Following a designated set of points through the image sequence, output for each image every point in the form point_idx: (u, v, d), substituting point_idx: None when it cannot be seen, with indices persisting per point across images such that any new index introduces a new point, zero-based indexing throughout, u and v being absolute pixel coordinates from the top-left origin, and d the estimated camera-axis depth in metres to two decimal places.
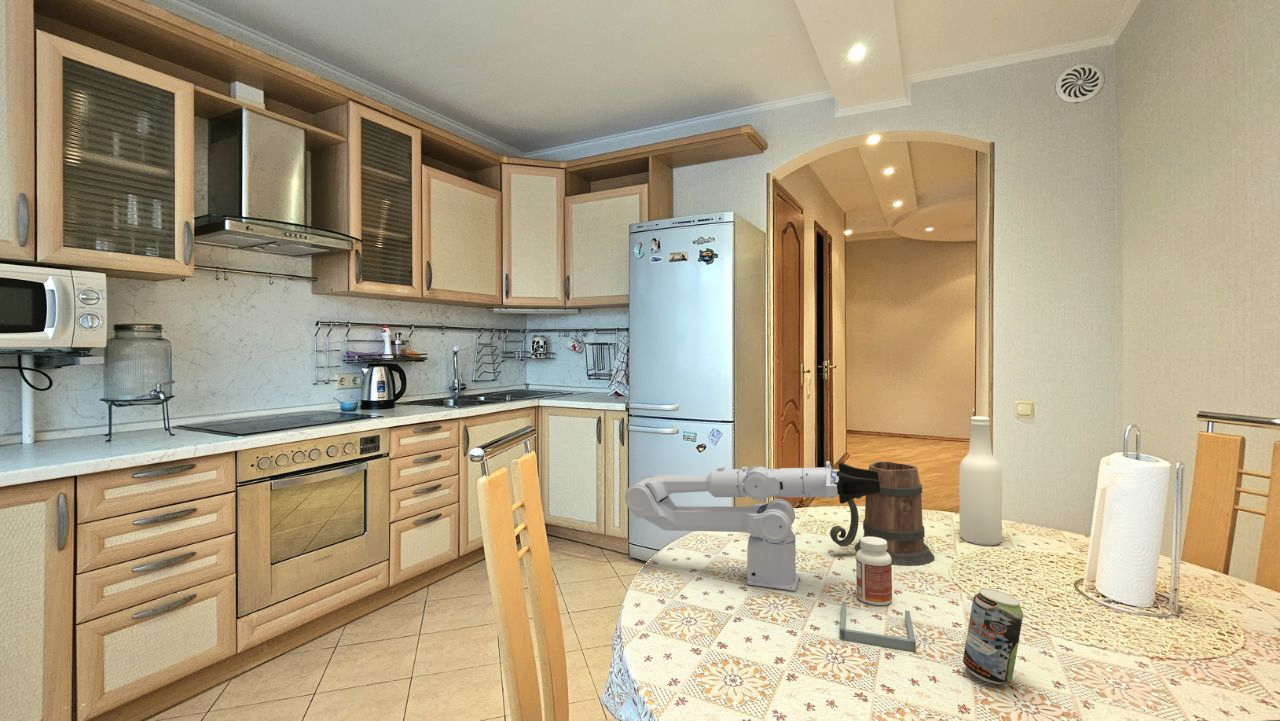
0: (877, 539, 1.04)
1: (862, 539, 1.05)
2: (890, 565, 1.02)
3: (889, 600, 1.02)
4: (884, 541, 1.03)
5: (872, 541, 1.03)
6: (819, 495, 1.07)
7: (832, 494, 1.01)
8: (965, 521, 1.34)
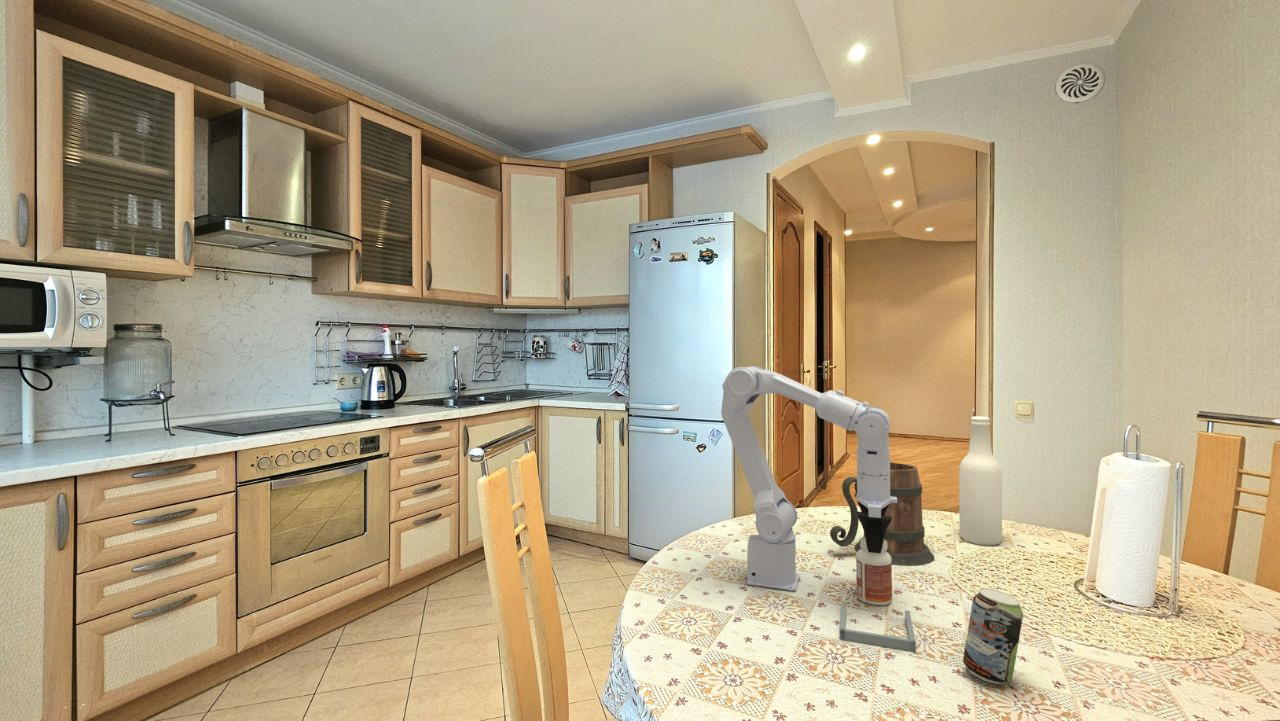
0: None
1: (862, 539, 1.05)
2: (890, 565, 1.02)
3: (889, 600, 1.02)
4: (884, 541, 1.03)
5: None
6: (861, 488, 1.03)
7: (870, 512, 0.97)
8: (965, 521, 1.34)
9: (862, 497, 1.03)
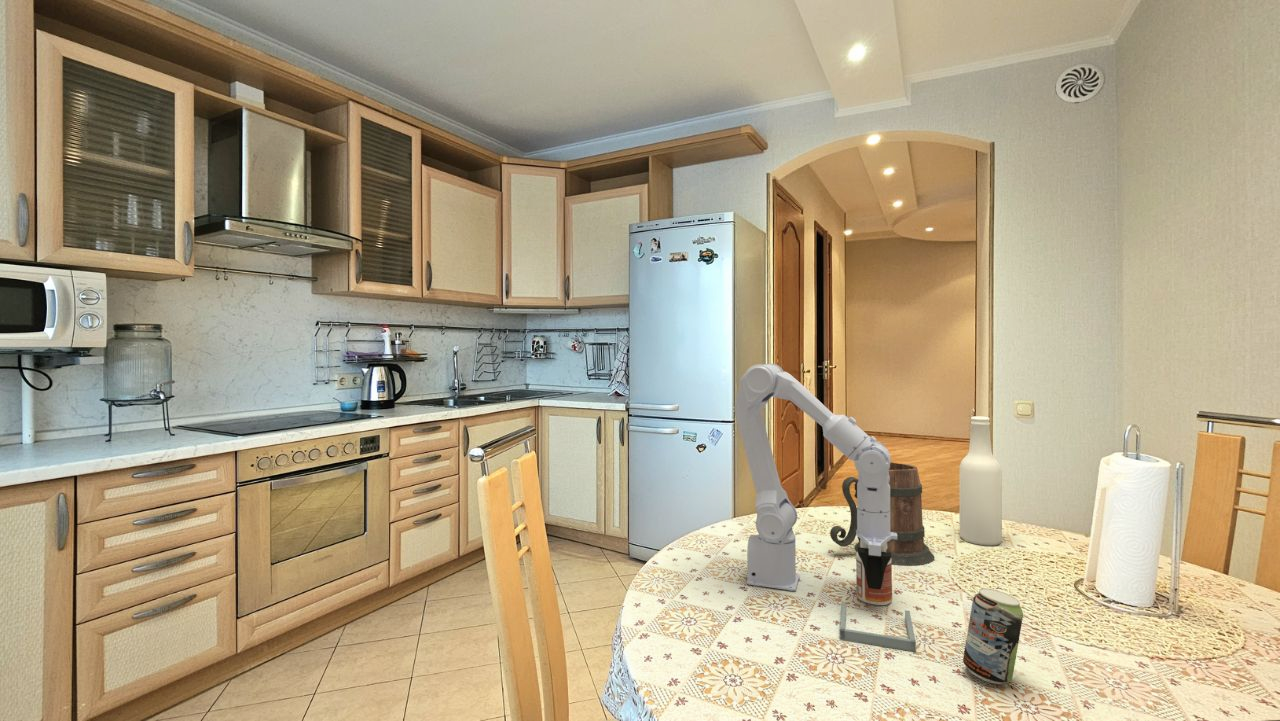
0: None
1: None
2: (890, 565, 1.02)
3: (889, 600, 1.02)
4: None
5: None
6: (861, 524, 1.03)
7: (870, 550, 0.97)
8: (965, 521, 1.34)
9: (862, 533, 1.03)
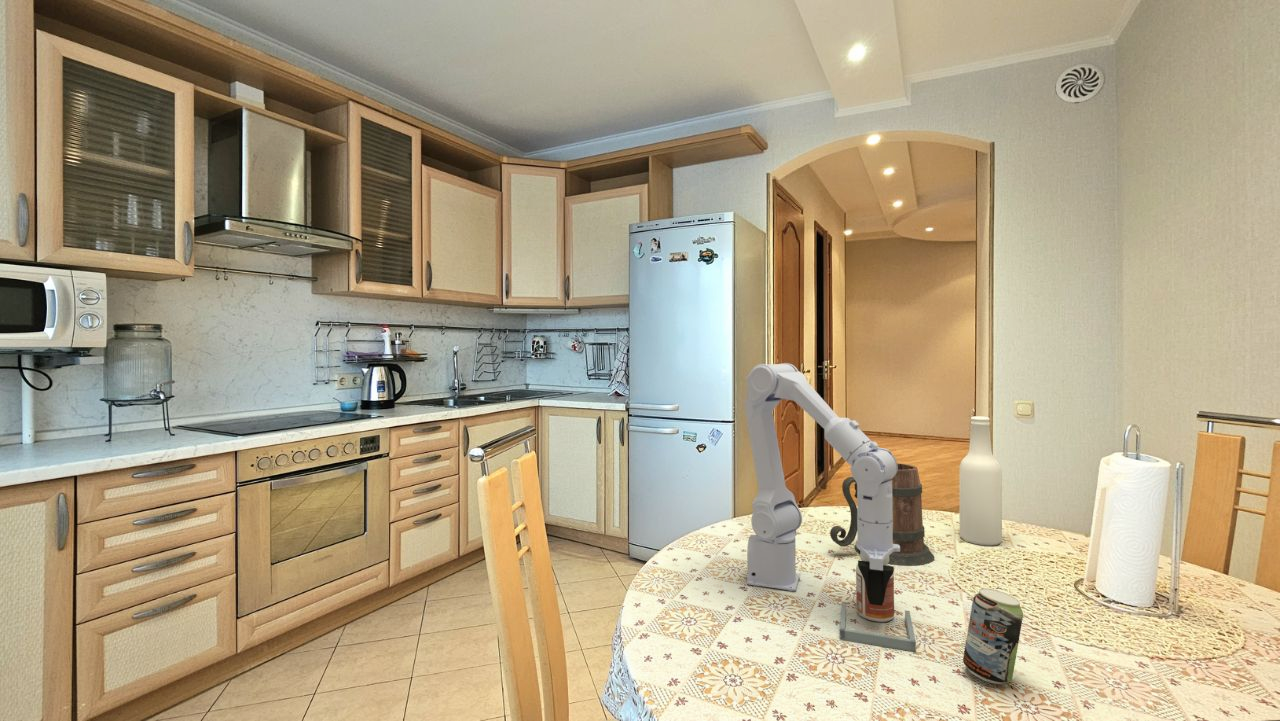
0: None
1: None
2: (892, 579, 0.96)
3: (891, 616, 0.95)
4: None
5: None
6: (861, 536, 0.97)
7: (872, 564, 0.91)
8: (965, 521, 1.34)
9: (863, 545, 0.96)
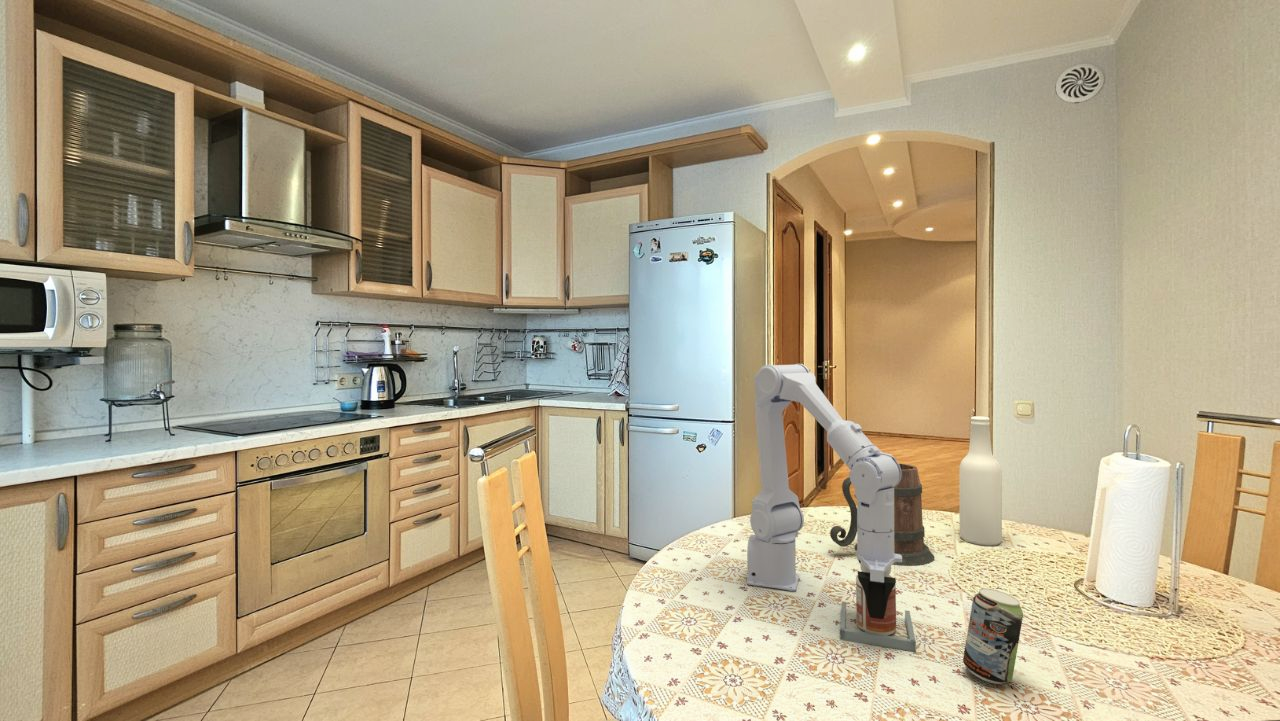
0: None
1: None
2: (894, 590, 0.91)
3: (893, 630, 0.91)
4: None
5: None
6: (861, 545, 0.92)
7: (872, 575, 0.87)
8: (965, 521, 1.34)
9: (863, 555, 0.92)
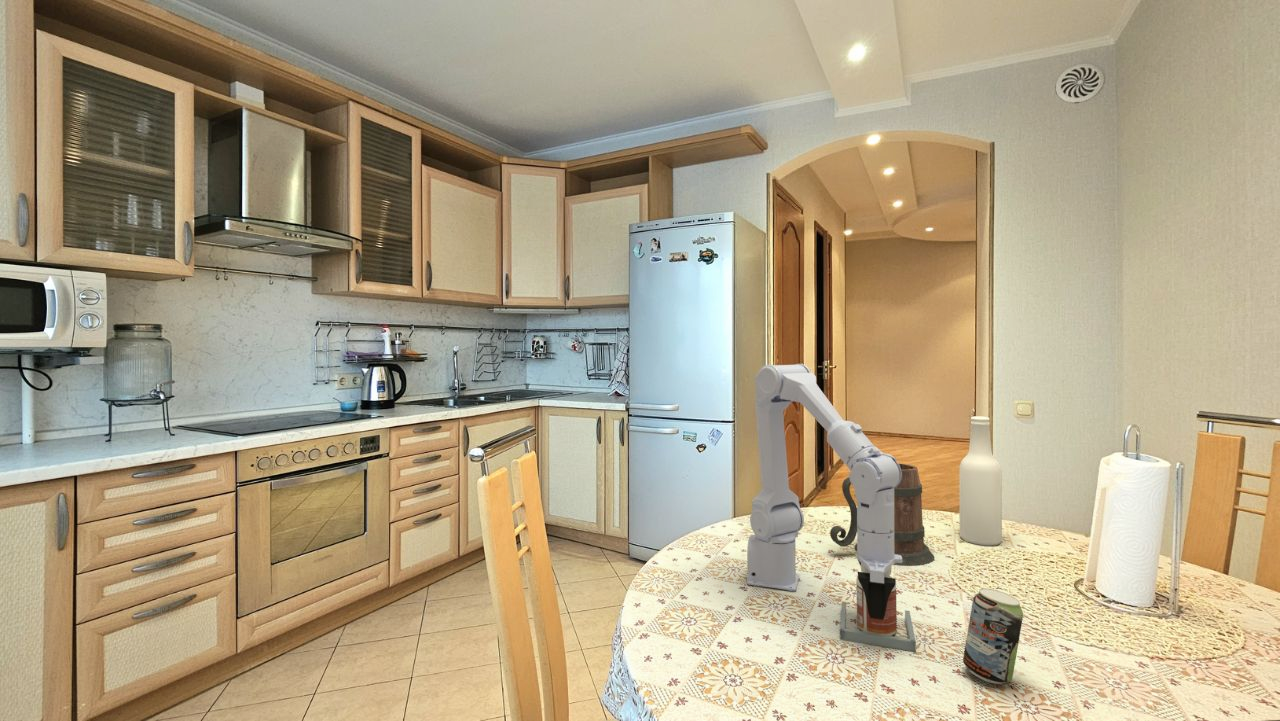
0: None
1: None
2: (894, 591, 0.91)
3: (894, 631, 0.90)
4: None
5: None
6: (861, 546, 0.92)
7: (872, 576, 0.86)
8: (965, 521, 1.34)
9: (863, 556, 0.92)
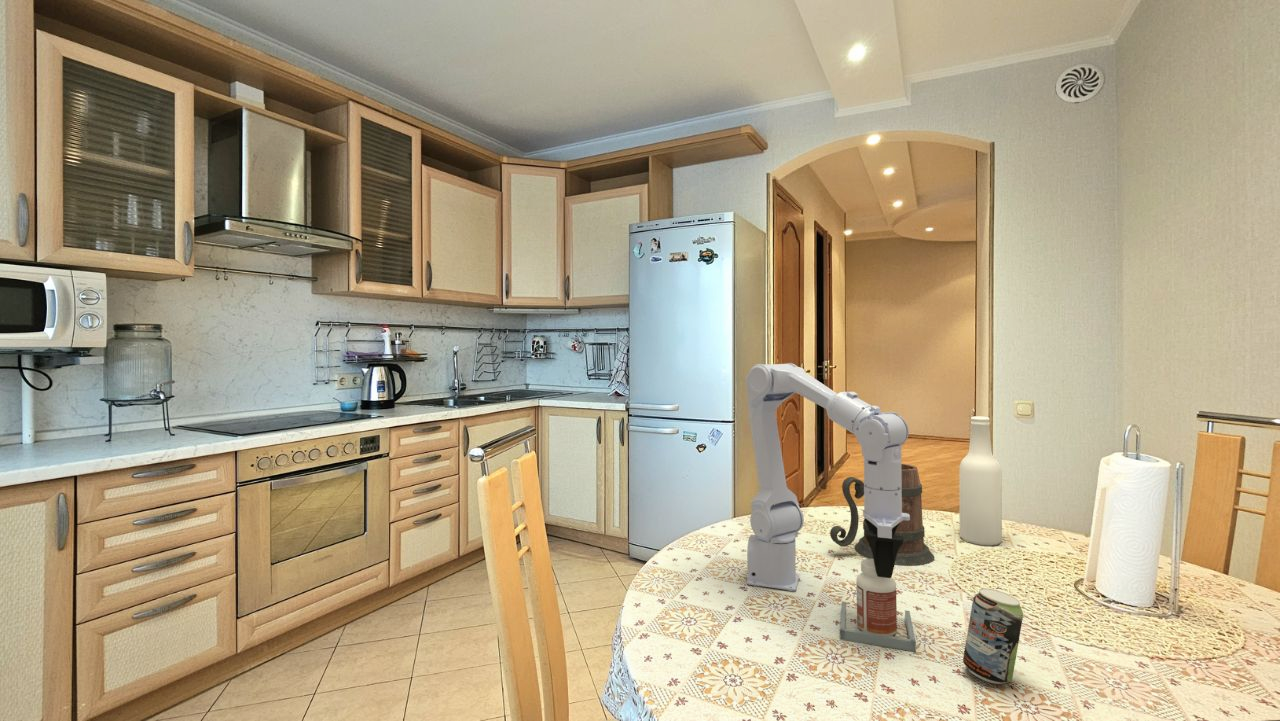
0: None
1: (863, 562, 0.93)
2: (894, 592, 0.91)
3: (894, 631, 0.90)
4: None
5: (874, 565, 0.92)
6: (868, 504, 0.91)
7: (880, 531, 0.86)
8: (965, 521, 1.34)
9: (870, 514, 0.91)
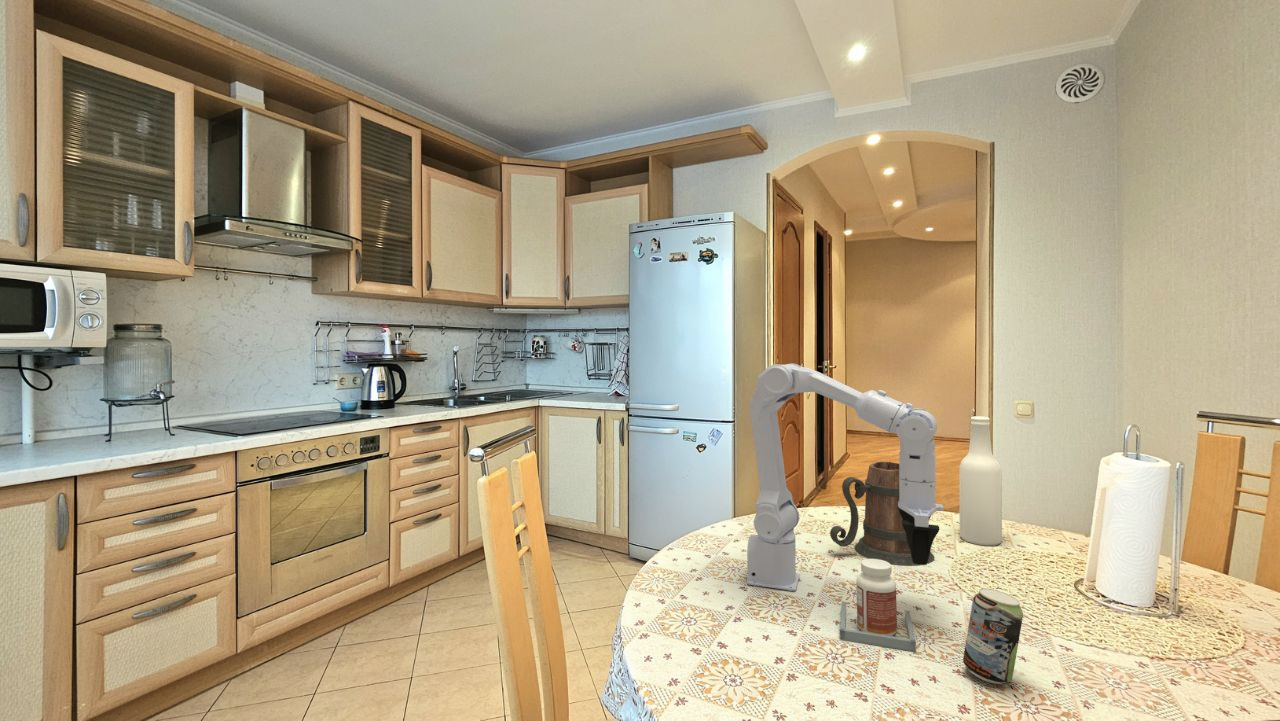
0: (880, 562, 0.93)
1: (863, 562, 0.93)
2: (894, 592, 0.91)
3: (894, 631, 0.90)
4: (888, 564, 0.92)
5: (874, 565, 0.92)
6: (904, 495, 0.97)
7: (917, 521, 0.91)
8: (965, 521, 1.34)
9: (906, 505, 0.96)
